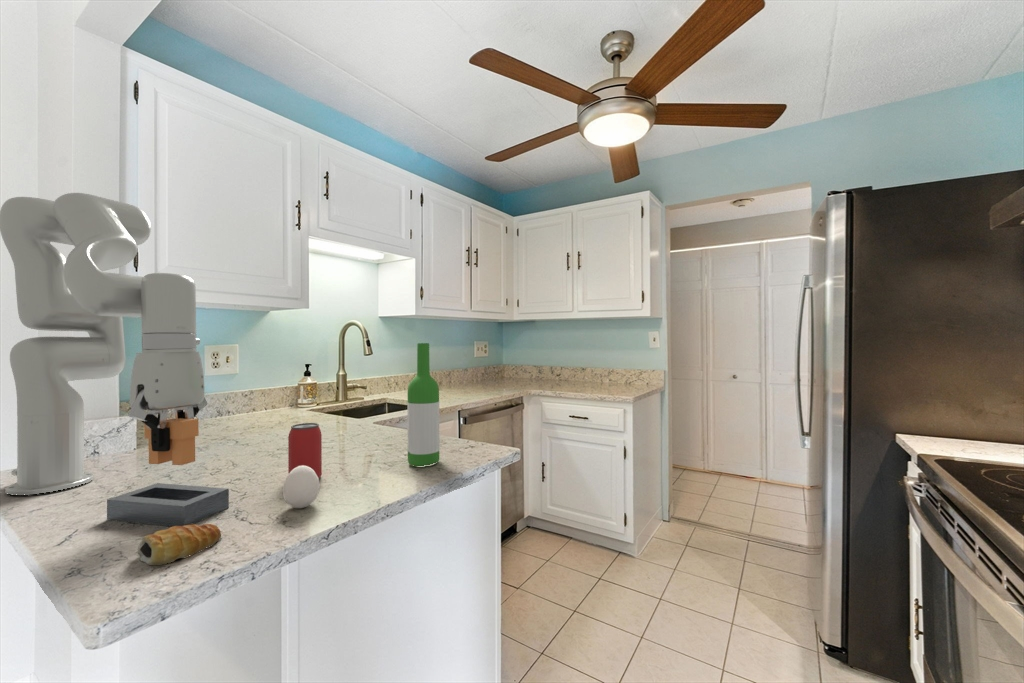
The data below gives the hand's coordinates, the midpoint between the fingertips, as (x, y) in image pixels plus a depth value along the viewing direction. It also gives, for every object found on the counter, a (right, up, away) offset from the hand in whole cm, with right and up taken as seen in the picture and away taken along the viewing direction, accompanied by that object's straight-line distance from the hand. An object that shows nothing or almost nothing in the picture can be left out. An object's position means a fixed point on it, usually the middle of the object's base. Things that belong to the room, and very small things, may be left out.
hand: (171, 447), depth 74 cm
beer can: (+15, -12, +19) cm, 26 cm away
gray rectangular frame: (0, -12, 0) cm, 12 cm away
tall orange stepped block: (0, -3, 0) cm, 3 cm away
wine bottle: (+38, -12, +30) cm, 50 cm away
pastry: (+12, -12, -13) cm, 21 cm away
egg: (+22, -12, +3) cm, 25 cm away
